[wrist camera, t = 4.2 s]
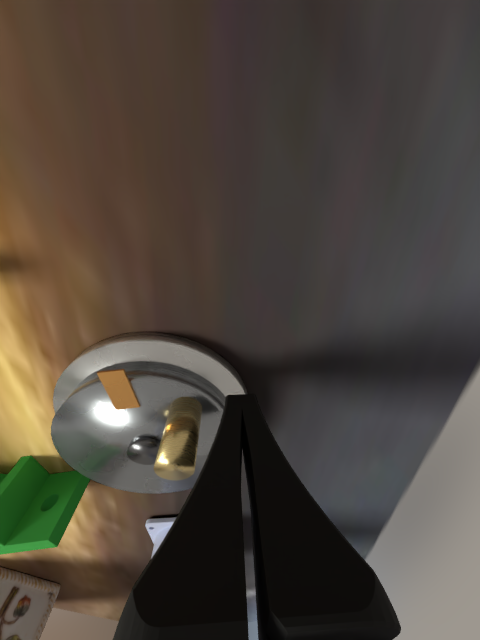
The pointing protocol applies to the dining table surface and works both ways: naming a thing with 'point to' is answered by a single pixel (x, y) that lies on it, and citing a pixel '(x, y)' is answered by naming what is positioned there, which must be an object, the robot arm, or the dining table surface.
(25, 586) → the decorative jar
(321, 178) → the dining table surface
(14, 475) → the pipe clamp
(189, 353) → the base plate
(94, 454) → the index disc
